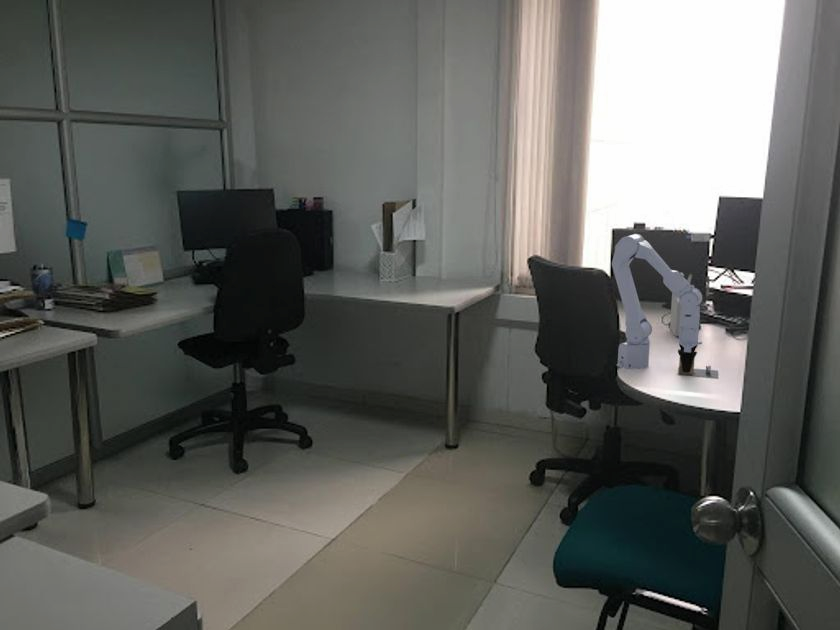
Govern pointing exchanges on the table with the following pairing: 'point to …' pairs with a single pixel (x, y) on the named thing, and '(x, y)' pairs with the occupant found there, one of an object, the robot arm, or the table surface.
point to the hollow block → (686, 372)
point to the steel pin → (708, 369)
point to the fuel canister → (676, 313)
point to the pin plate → (701, 373)
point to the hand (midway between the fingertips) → (686, 368)
